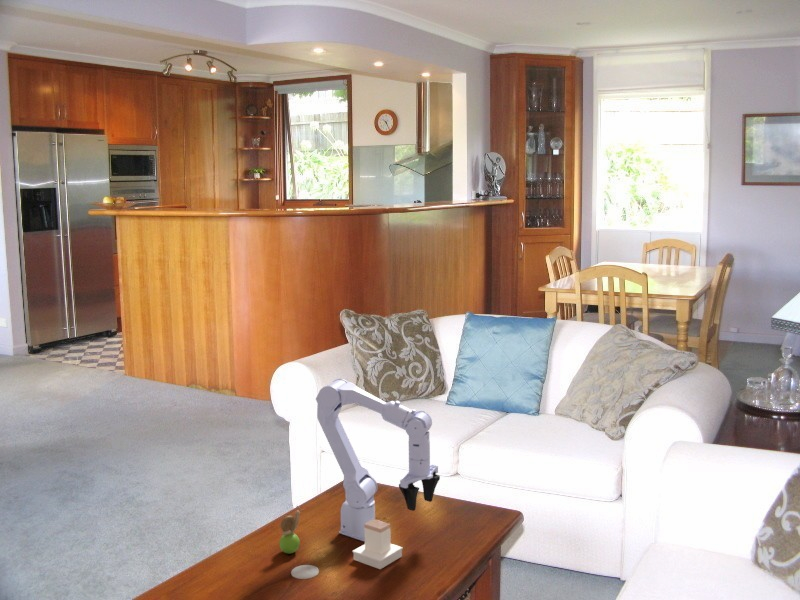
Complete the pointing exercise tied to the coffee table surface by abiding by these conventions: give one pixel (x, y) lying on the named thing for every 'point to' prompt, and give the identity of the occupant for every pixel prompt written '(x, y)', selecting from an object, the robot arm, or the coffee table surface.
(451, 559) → the coffee table surface
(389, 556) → the podium
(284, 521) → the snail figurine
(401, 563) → the coffee table surface
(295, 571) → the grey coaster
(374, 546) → the carton
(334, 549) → the coffee table surface
